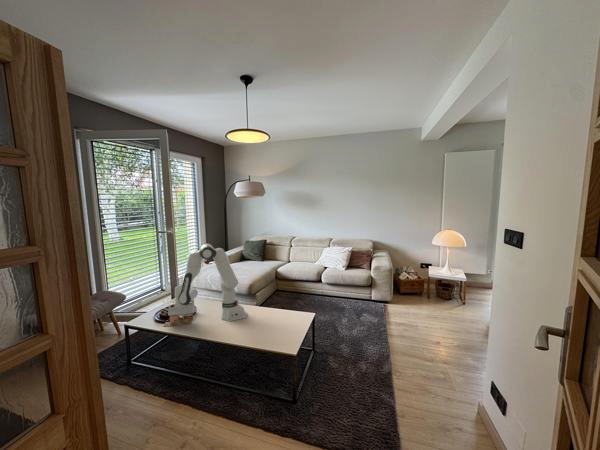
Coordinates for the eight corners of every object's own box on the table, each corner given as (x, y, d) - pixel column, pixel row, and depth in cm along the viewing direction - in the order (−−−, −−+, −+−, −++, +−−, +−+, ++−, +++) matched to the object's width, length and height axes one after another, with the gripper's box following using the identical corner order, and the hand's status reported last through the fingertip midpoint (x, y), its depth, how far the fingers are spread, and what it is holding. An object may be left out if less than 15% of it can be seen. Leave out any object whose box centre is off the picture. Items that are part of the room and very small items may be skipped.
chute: (193, 318, 219) (192, 314, 219) (191, 323, 209) (190, 319, 209) (166, 321, 214) (166, 316, 214) (163, 326, 204) (163, 322, 204)
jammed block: (179, 320, 214) (179, 313, 214) (177, 323, 209) (177, 316, 209) (171, 320, 213) (171, 314, 212) (169, 323, 208) (169, 316, 207)
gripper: (194, 300, 216) (195, 316, 218) (168, 303, 212) (169, 318, 213) (193, 303, 210) (194, 319, 212) (166, 306, 206) (167, 322, 207)
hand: (181, 319), depth 212 cm, fingers closed
